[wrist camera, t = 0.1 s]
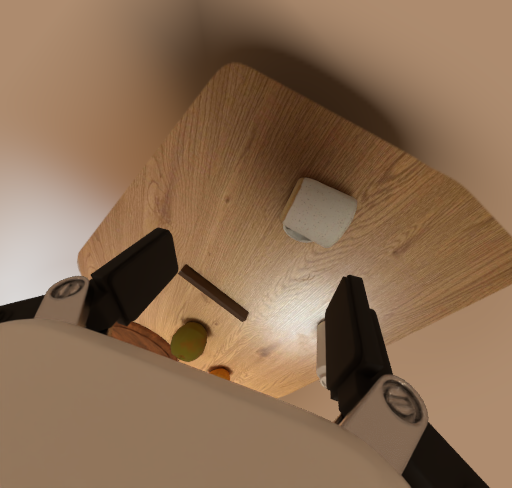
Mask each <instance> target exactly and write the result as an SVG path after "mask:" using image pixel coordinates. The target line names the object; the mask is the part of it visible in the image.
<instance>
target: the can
mask: <svg viewBox="0 0 512 488" xmlns="http://www.w3.org/2000/svg"><path fill="white" fill-rule="evenodd" d="M316 373H317V375H318V377H319V378H320V383H321V385H322V386H323V387H325V388H326V389H327V387H326V347H325V321H323V322H321V323H320V324H319V325H318V326H317V368H316Z"/></svg>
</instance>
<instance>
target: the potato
mask: <svg viewBox="0 0 512 488" xmlns="http://www.w3.org/2000/svg"><path fill="white" fill-rule="evenodd" d="M210 374H213V375H215V376H218V377H221V378H223V379H226V380H229V381H230V376H229V372H228V371H227V370H225V369H222V368H219V369H215V370H212V371H211V372H210Z"/></svg>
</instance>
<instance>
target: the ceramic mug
mask: <svg viewBox="0 0 512 488" xmlns="http://www.w3.org/2000/svg"><path fill="white" fill-rule="evenodd" d="M356 209H357V200H356V199H355V198H353V197H351V196H349V195H347V194H344V193H342V192H340V191H338V190H336V189H334V188H331V187H329V186H326V185H324V184H322V183H320V182H318V181H316V180H314V179H310V178H306V177H302V178H300V179H299V180H298V181H297V183H296V185H295V187H294V189H293V191H292V193H291V195H290V197H289V199H288V201H287V203H286V205H285V207H284V209H283V211H282V213H281V215H280V217H279V218H280V221H281V223H283V224H284V225H283V228H284V231H285V232H286V234H287V235H289V236H290V237H291V238H293V239H295V240H297V241H300V242H305V243H307V242H315V243H317V244H319V245H321V246H322V247H325V248H329V247H331V246H332V245H334V244H335V243H336V242H337V241H338V240H339V239H340V238H341V237H342V235H343V234H344V232H345V231H346V230H347V228H348V227H349V225H350V223H351V222H352V220H353V217H354V214H355V212H356Z"/></svg>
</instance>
